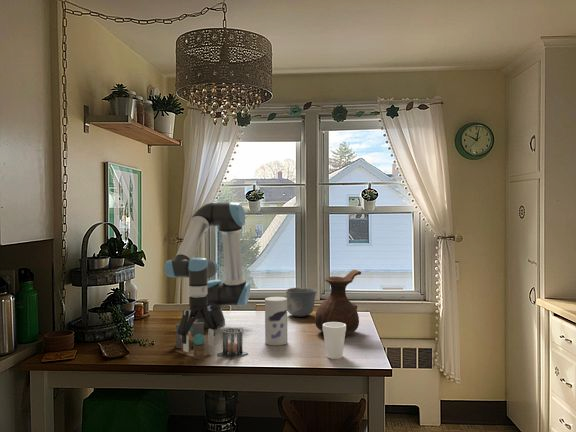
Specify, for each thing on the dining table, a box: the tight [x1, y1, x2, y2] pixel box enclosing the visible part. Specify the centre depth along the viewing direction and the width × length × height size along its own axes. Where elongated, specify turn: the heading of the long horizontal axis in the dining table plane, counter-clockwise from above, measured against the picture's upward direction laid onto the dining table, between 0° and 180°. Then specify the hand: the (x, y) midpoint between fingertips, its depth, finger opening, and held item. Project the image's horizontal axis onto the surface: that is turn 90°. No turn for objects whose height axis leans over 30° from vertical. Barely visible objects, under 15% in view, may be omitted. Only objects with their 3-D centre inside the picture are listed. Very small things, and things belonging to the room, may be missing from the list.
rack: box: [175, 340, 211, 360], centre depth 200 cm, size 16×6×5 cm, turn 47°
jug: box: [314, 269, 362, 337], centre depth 231 cm, size 22×22×30 cm
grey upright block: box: [175, 322, 205, 349], centre depth 212 cm, size 5×12×10 cm, turn 102°
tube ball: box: [227, 341, 237, 353], centre depth 198 cm, size 5×5×5 cm
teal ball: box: [193, 334, 205, 345], centre depth 197 cm, size 5×5×5 cm
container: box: [264, 296, 288, 346], centre depth 215 cm, size 10×10×20 cm
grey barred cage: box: [216, 327, 249, 360], centre depth 198 cm, size 9×9×10 cm
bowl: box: [285, 287, 317, 318], centre depth 268 cm, size 18×18×15 cm
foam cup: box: [322, 322, 346, 360], centre depth 195 cm, size 10×9×13 cm
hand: (198, 348), depth 197 cm, fingers open, 12 cm apart
